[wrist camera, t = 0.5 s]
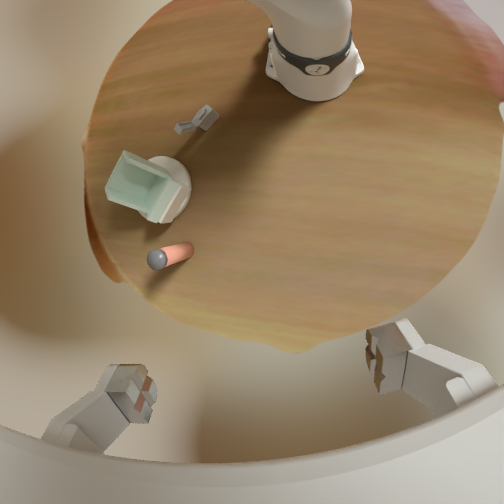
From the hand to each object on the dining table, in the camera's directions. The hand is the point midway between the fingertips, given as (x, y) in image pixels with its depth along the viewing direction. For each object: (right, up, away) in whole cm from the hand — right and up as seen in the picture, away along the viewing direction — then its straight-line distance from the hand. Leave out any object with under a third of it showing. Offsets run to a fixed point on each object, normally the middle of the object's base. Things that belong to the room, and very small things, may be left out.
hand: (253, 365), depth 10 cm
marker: (-13, +4, +47) cm, 49 cm away
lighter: (-9, +28, +43) cm, 53 cm away
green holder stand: (-17, +16, +47) cm, 52 cm away
